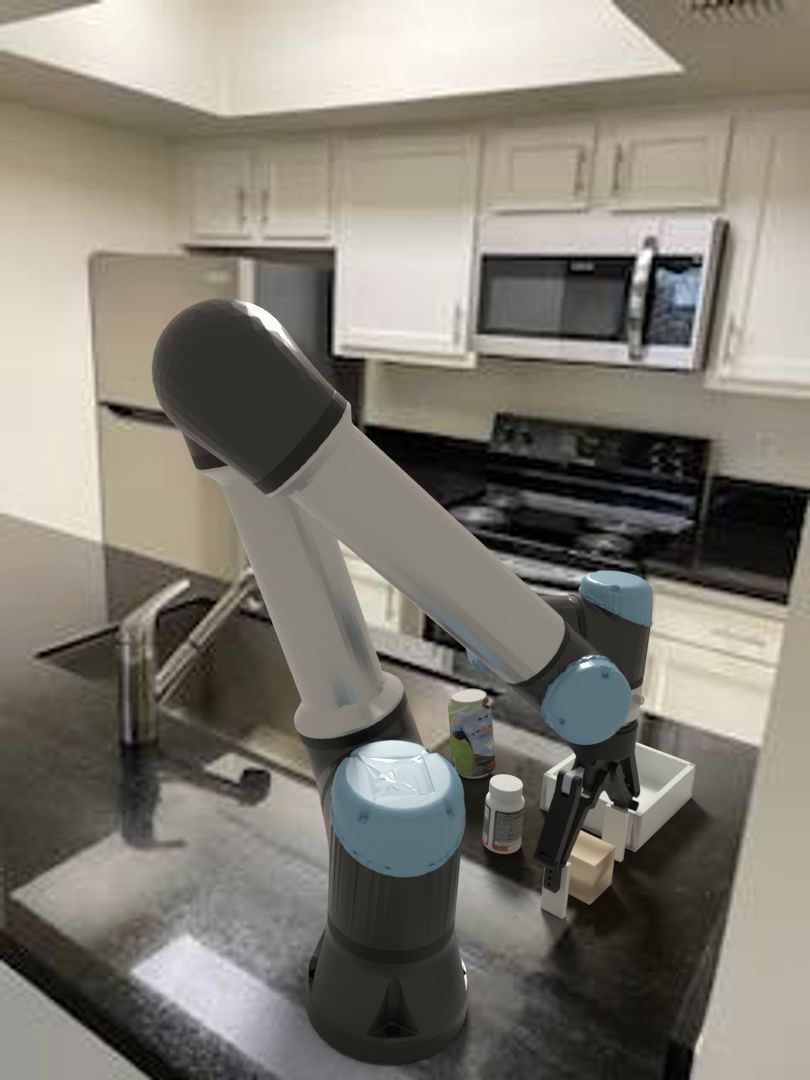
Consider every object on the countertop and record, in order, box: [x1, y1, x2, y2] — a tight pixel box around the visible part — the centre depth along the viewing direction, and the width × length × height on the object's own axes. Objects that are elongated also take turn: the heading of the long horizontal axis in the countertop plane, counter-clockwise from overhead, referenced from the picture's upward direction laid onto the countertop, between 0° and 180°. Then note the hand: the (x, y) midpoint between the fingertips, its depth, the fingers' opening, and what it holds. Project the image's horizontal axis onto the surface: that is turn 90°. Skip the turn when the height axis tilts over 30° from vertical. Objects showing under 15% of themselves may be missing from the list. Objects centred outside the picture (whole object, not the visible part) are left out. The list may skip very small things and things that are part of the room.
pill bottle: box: [482, 773, 526, 855], centre depth 102 cm, size 5×5×8 cm
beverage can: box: [447, 688, 496, 780], centre depth 118 cm, size 6×7×12 cm
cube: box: [568, 829, 616, 906], centre depth 96 cm, size 5×5×5 cm
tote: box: [539, 741, 697, 853], centre depth 113 cm, size 18×14×5 cm
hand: (583, 883), depth 96 cm, fingers open, 13 cm apart
